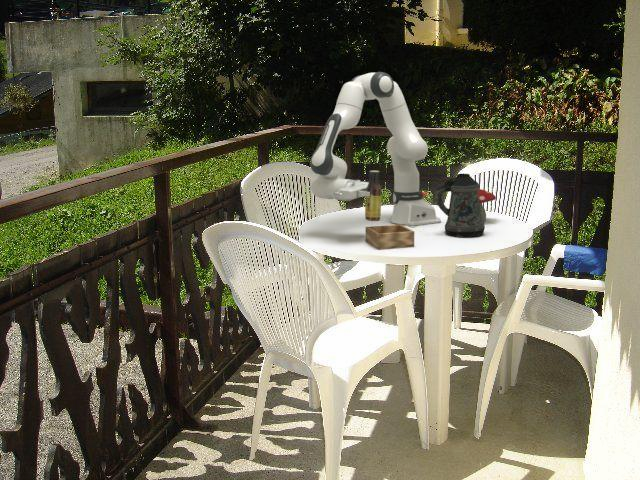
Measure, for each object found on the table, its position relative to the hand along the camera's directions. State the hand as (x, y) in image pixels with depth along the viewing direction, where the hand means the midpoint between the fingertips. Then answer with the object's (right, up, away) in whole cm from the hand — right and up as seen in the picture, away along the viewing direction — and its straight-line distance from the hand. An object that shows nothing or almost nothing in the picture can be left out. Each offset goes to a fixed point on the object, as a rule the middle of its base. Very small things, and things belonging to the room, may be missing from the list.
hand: (375, 192), depth 309 cm
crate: (+6, -20, -1) cm, 21 cm away
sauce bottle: (-1, -11, +3) cm, 11 cm away
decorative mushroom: (+49, -11, +40) cm, 64 cm away
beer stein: (+37, -17, +15) cm, 43 cm away
